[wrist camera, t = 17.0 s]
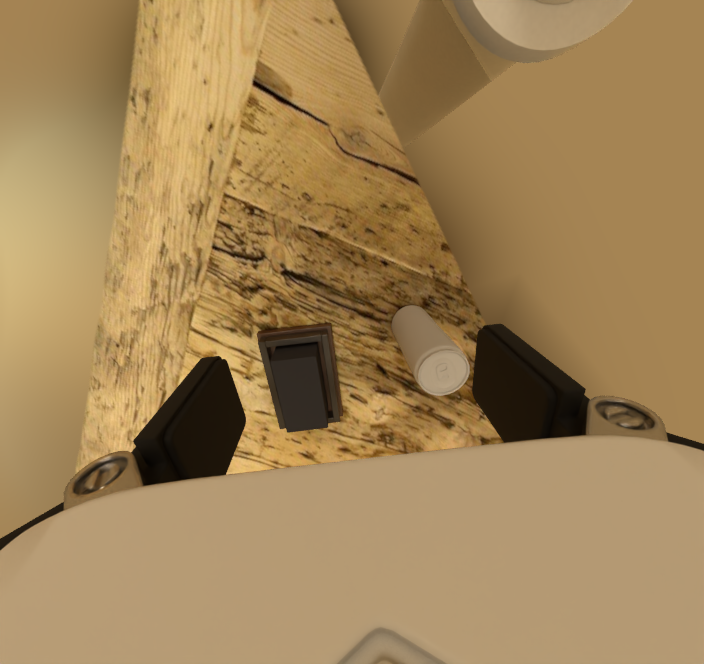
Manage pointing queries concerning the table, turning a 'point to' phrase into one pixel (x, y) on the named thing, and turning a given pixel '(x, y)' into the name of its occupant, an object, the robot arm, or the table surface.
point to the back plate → (327, 356)
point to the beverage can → (429, 351)
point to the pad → (300, 386)
